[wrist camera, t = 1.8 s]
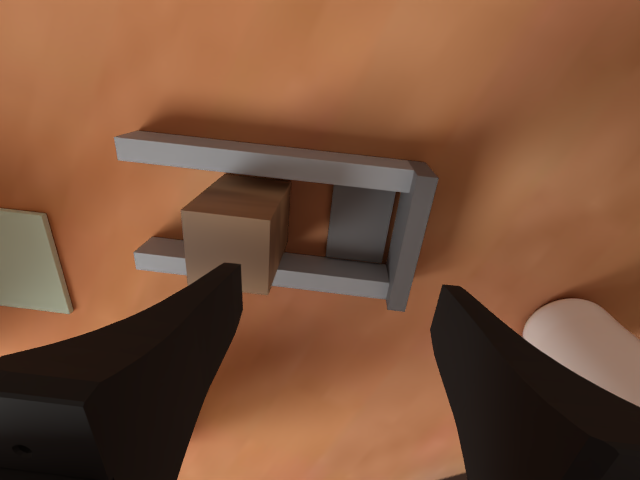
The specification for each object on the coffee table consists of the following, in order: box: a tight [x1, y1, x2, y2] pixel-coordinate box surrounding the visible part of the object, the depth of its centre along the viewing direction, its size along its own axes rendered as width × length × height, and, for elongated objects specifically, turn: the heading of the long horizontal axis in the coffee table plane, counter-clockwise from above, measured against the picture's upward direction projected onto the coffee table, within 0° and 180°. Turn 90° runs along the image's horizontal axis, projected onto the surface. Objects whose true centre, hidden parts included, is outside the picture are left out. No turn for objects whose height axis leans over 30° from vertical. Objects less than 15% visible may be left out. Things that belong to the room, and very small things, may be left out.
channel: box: [114, 131, 439, 312], centre depth 20 cm, size 8×16×3 cm, turn 85°
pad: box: [0, 208, 73, 314], centre depth 24 cm, size 8×8×1 cm
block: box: [181, 174, 291, 295], centre depth 19 cm, size 4×4×6 cm
